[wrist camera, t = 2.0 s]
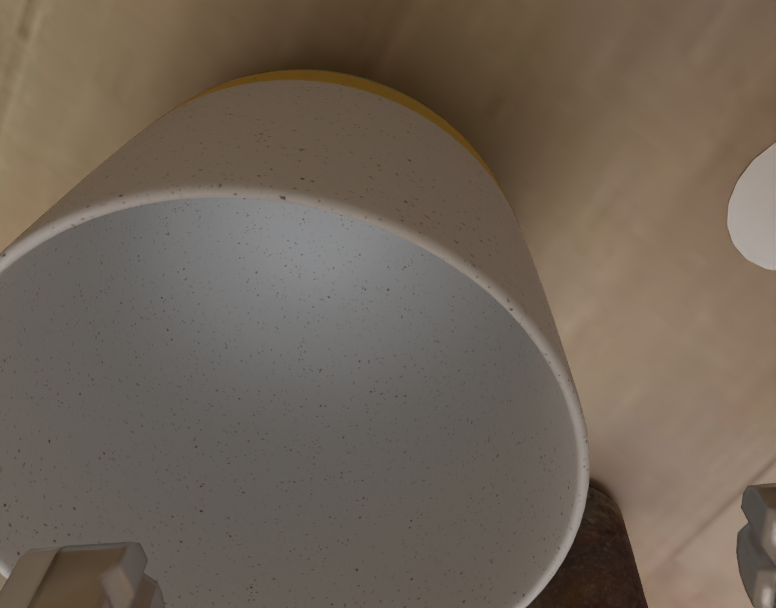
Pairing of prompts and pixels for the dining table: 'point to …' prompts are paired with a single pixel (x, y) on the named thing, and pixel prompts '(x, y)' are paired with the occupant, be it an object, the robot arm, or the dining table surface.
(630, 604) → the dark brown cylinder
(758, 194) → the wineglass
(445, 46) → the dining table surface
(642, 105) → the dining table surface
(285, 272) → the planter
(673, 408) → the dining table surface
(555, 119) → the dining table surface
